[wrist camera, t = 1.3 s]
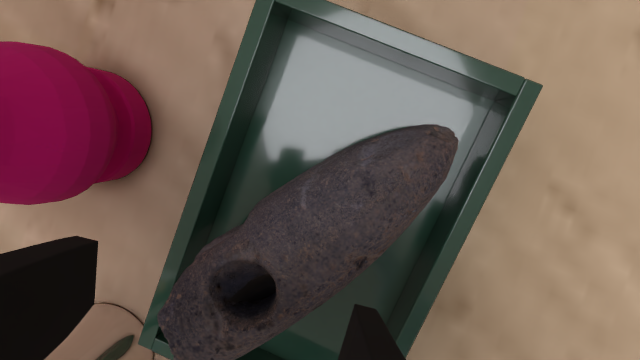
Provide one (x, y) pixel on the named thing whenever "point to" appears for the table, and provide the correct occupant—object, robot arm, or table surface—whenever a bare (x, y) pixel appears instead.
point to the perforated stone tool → (304, 243)
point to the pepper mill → (64, 125)
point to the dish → (335, 135)
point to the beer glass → (104, 337)
